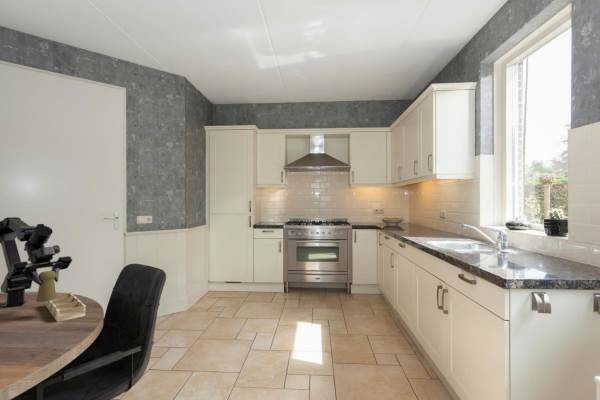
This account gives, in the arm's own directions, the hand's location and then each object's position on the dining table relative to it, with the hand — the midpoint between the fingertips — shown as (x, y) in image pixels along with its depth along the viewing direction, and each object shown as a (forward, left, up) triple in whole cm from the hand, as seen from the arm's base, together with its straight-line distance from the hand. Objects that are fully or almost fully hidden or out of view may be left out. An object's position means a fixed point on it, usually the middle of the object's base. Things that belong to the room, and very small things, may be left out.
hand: (49, 282), depth 115 cm
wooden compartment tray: (-5, +4, -13) cm, 15 cm away
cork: (-1, -1, -7) cm, 7 cm away
